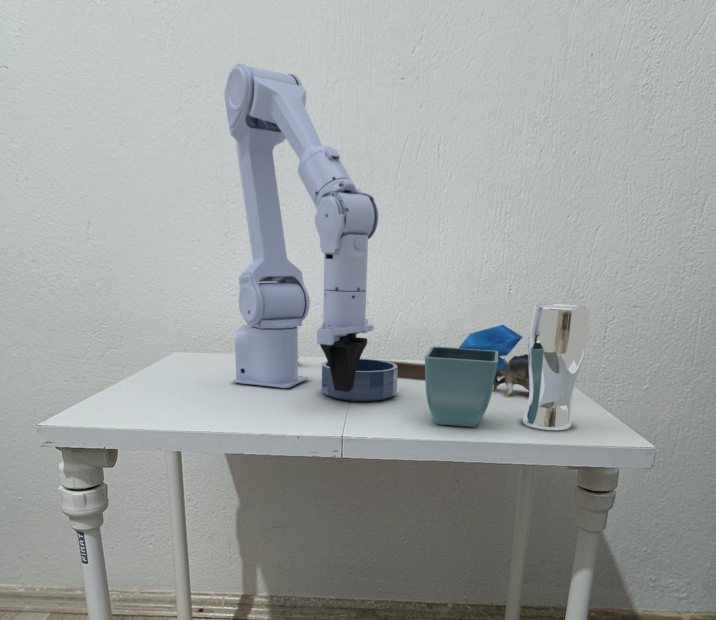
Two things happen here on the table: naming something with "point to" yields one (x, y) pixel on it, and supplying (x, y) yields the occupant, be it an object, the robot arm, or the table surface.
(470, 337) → the crystal
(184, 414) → the table surface
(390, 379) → the bowl
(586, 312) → the beer glass
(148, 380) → the table surface
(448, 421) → the flower pot
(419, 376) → the rail
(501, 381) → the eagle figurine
